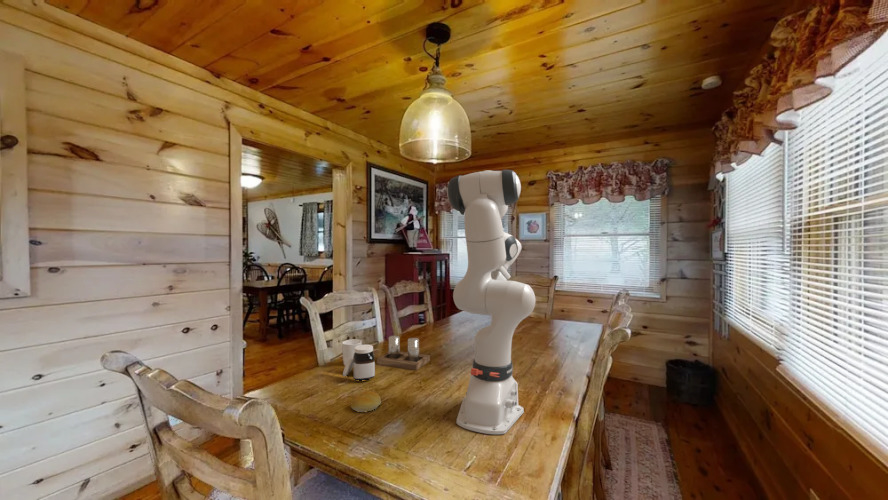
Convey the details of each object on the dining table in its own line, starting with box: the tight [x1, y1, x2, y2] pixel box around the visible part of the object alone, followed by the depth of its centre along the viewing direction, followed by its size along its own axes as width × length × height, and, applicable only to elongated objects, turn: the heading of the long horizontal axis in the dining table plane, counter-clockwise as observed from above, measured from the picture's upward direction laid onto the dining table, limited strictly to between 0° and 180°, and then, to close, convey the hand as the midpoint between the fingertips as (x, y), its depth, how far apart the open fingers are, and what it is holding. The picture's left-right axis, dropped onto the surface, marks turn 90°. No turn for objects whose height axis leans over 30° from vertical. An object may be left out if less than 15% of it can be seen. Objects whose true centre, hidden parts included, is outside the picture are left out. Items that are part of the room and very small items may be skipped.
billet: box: [407, 337, 420, 362], centre depth 138 cm, size 4×4×10 cm
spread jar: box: [342, 344, 376, 381], centre depth 126 cm, size 12×11×12 cm
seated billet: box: [388, 335, 401, 359], centre depth 141 cm, size 4×4×10 cm
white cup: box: [341, 338, 363, 367], centre depth 138 cm, size 8×8×10 cm
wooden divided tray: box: [376, 350, 431, 371], centre depth 139 cm, size 12×18×3 cm, turn 67°
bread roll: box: [350, 390, 382, 413], centre depth 104 cm, size 8×9×4 cm
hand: (473, 295), depth 136 cm, fingers open, 8 cm apart
